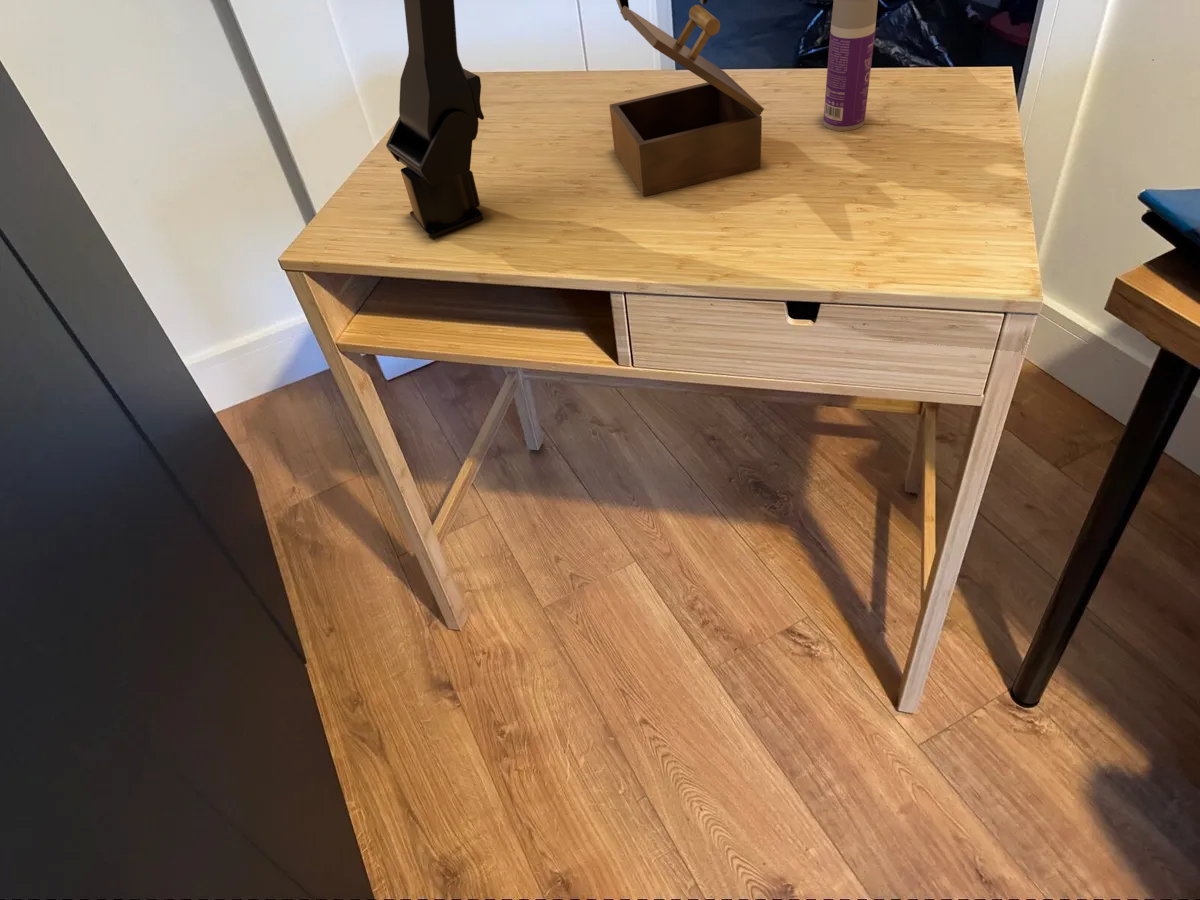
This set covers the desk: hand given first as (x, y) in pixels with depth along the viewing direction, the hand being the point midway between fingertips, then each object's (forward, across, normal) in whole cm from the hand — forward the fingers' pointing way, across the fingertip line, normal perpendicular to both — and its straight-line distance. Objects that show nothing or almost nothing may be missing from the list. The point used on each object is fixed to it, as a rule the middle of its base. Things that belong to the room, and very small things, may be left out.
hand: (664, 11), depth 93 cm
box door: (+2, +1, +11) cm, 11 cm away
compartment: (+12, +2, +11) cm, 17 cm away
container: (+13, -18, +11) cm, 24 cm away
